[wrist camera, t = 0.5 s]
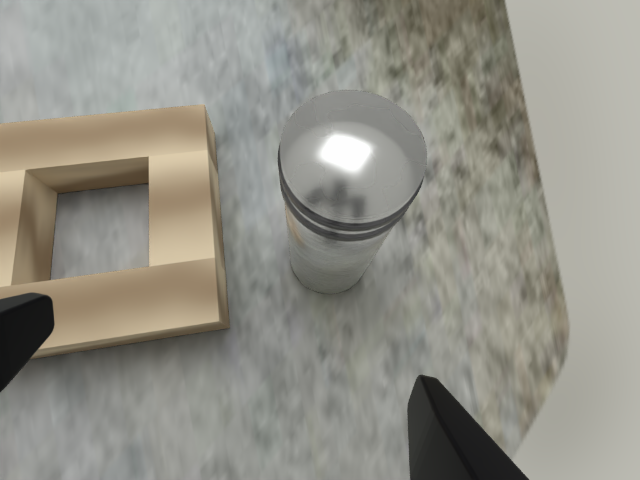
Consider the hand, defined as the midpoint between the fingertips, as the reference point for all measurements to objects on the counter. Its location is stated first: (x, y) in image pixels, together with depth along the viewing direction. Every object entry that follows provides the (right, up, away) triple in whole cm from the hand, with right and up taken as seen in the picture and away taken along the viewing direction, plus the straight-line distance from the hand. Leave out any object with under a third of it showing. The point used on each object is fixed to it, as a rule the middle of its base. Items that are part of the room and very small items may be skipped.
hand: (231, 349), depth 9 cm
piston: (+3, +2, +15) cm, 15 cm away
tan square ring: (-11, +3, +15) cm, 19 cm away
